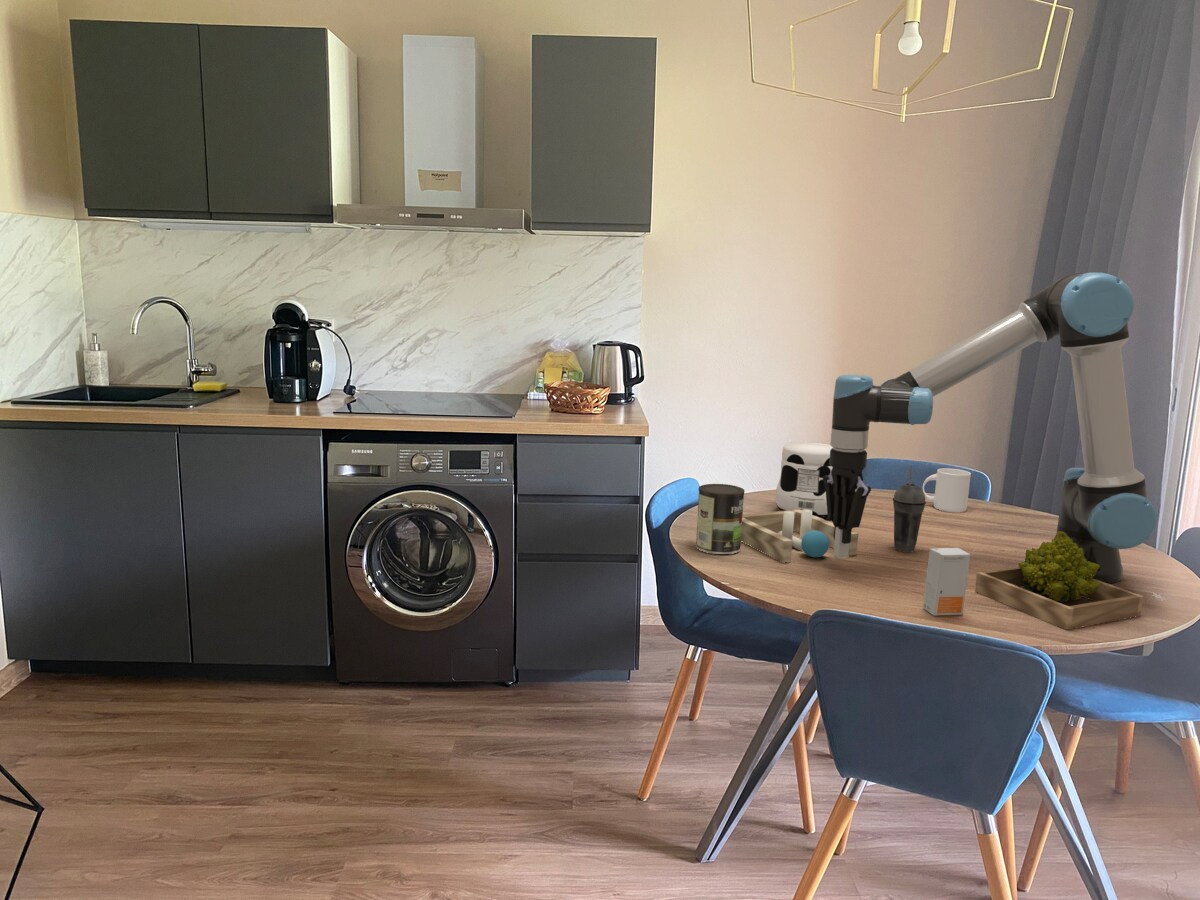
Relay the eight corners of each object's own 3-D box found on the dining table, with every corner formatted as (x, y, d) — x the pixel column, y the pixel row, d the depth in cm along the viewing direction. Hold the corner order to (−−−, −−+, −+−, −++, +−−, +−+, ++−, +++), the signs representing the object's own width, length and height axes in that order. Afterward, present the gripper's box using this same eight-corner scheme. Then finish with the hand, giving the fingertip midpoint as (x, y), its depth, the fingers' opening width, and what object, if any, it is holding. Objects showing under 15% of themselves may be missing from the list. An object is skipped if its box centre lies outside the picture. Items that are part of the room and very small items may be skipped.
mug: (922, 502, 250) (926, 465, 248) (968, 508, 245) (972, 470, 243) (918, 508, 243) (922, 470, 241) (964, 514, 237) (969, 476, 235)
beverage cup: (926, 549, 204) (935, 465, 200) (912, 555, 199) (921, 469, 195) (896, 542, 209) (904, 460, 205) (882, 548, 204) (890, 464, 200)
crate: (1140, 616, 165) (1143, 596, 165) (1066, 630, 157) (1069, 609, 157) (1045, 580, 184) (1047, 562, 184) (974, 591, 176) (977, 572, 176)
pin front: (807, 540, 200) (785, 530, 207) (798, 541, 199) (776, 531, 206) (807, 550, 200) (785, 539, 208) (798, 551, 199) (776, 541, 207)
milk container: (816, 503, 244) (821, 440, 241) (854, 519, 228) (860, 452, 225) (762, 507, 238) (766, 442, 235) (797, 524, 222) (803, 454, 219)
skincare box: (934, 616, 162) (941, 554, 160) (922, 608, 166) (928, 547, 164) (964, 615, 163) (971, 554, 161) (951, 607, 167) (958, 547, 165)
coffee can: (747, 546, 201) (751, 487, 199) (731, 558, 193) (734, 496, 190) (705, 539, 206) (709, 481, 204) (688, 550, 197) (691, 489, 195)
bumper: (856, 554, 198) (858, 533, 197) (783, 563, 190) (784, 541, 189) (797, 528, 218) (799, 509, 217) (729, 535, 210) (730, 515, 209)
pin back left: (793, 549, 201) (796, 513, 199) (785, 550, 200) (787, 514, 198) (787, 546, 203) (790, 510, 201) (779, 547, 202) (781, 511, 200)
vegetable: (1006, 586, 168) (1037, 517, 170) (1001, 599, 182) (1030, 534, 184) (1089, 621, 161) (1120, 548, 163) (1077, 631, 175) (1106, 564, 177)
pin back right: (811, 547, 203) (814, 511, 201) (803, 548, 202) (806, 512, 200) (805, 544, 205) (808, 509, 203) (796, 545, 204) (799, 509, 202)
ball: (819, 524, 198) (814, 547, 200) (798, 528, 195) (793, 551, 197) (836, 535, 193) (832, 559, 195) (815, 540, 190) (810, 564, 192)
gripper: (884, 453, 179) (875, 563, 184) (842, 442, 191) (835, 546, 196) (855, 455, 176) (846, 567, 181) (814, 444, 188) (808, 549, 193)
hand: (840, 556), depth 188 cm, fingers closed
